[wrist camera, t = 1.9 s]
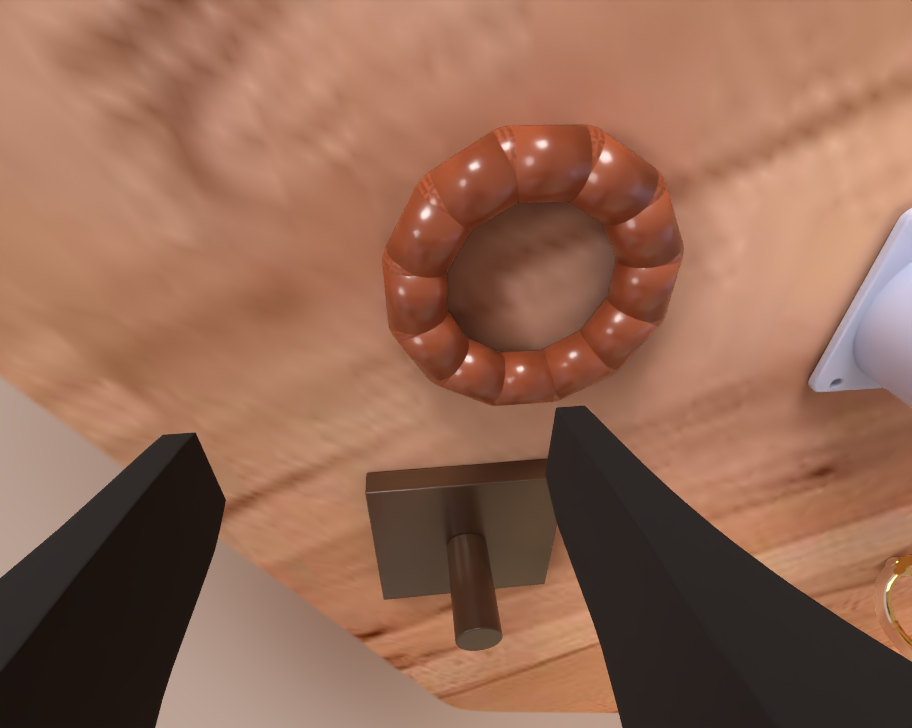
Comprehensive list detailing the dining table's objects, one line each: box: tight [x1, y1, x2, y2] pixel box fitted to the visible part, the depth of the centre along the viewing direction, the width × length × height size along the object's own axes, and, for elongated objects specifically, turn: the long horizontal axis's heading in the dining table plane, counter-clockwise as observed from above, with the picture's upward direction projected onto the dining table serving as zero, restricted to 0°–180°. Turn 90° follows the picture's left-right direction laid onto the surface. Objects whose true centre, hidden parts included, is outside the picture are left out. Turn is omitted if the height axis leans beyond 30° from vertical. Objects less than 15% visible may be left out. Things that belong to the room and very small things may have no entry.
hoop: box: [382, 125, 684, 406], centre depth 16 cm, size 10×10×2 cm
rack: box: [365, 459, 557, 651], centre depth 22 cm, size 9×9×6 cm
